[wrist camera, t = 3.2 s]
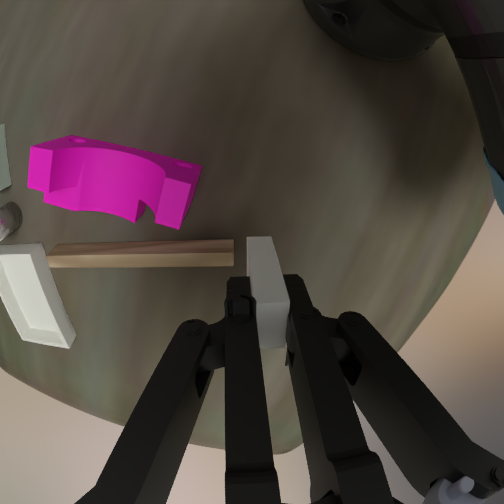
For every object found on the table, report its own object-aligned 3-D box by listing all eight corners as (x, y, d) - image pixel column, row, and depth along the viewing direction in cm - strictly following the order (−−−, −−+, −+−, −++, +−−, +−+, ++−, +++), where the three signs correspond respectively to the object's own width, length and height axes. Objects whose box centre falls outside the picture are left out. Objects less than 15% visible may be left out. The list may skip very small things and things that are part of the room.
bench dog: (2, 203, 26) (-26, 221, 21) (18, 200, 26) (-11, 218, 21) (8, 228, 28) (-18, 248, 22) (24, 226, 28) (-2, 247, 22)
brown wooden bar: (57, 244, 29) (45, 255, 27) (233, 239, 30) (233, 252, 28) (60, 255, 30) (49, 267, 27) (233, 251, 31) (233, 266, 28)
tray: (-5, 245, 28) (-16, 255, 26) (42, 242, 29) (29, 253, 26) (30, 328, 36) (22, 339, 33) (76, 335, 36) (69, 348, 34)
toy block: (64, 188, 27) (27, 212, 20) (72, 134, 24) (31, 146, 17) (186, 222, 29) (172, 256, 23) (202, 165, 27) (191, 184, 20)
